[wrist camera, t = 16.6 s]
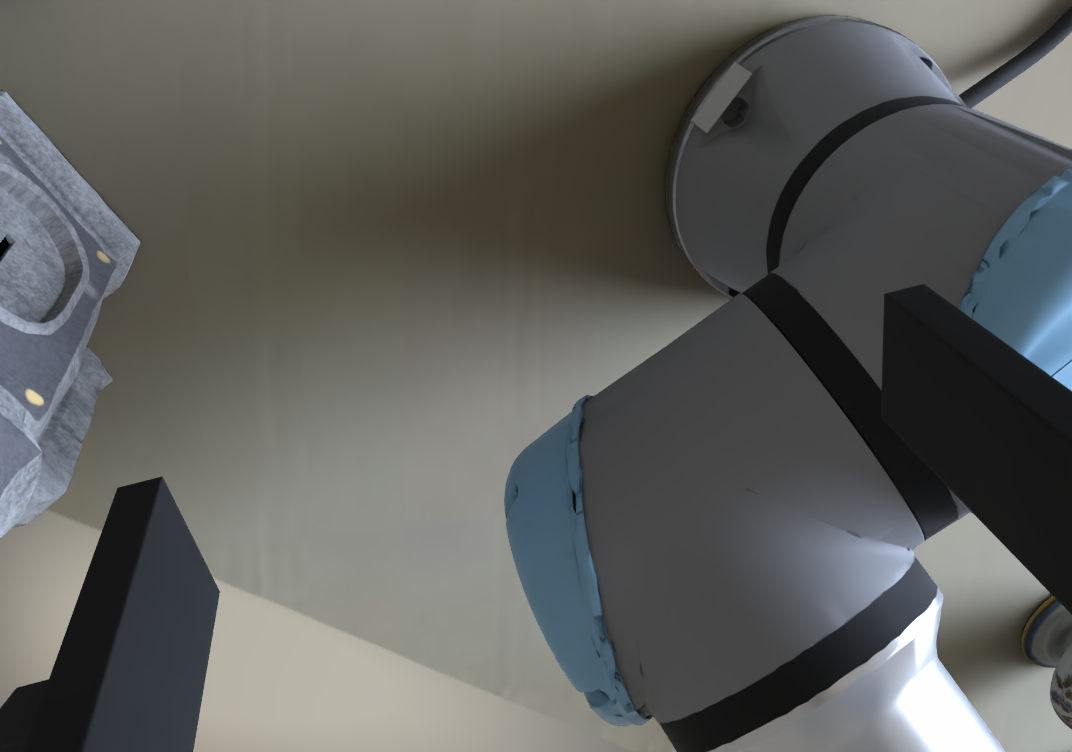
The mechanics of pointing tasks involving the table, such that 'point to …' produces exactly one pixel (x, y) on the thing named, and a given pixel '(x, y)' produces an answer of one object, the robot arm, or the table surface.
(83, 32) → the table surface
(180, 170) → the table surface
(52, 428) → the figurine
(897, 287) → the robot arm
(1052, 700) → the apothecary jar
